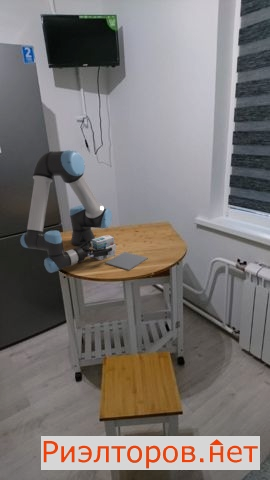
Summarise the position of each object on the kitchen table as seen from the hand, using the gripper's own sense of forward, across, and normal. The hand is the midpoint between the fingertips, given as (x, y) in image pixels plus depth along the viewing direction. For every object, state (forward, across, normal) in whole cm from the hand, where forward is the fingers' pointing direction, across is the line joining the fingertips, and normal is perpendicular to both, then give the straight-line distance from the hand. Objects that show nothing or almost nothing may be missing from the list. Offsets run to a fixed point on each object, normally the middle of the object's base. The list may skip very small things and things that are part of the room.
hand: (107, 243), depth 157 cm
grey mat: (+1, +15, -6) cm, 16 cm away
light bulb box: (-3, 0, -7) cm, 7 cm away
